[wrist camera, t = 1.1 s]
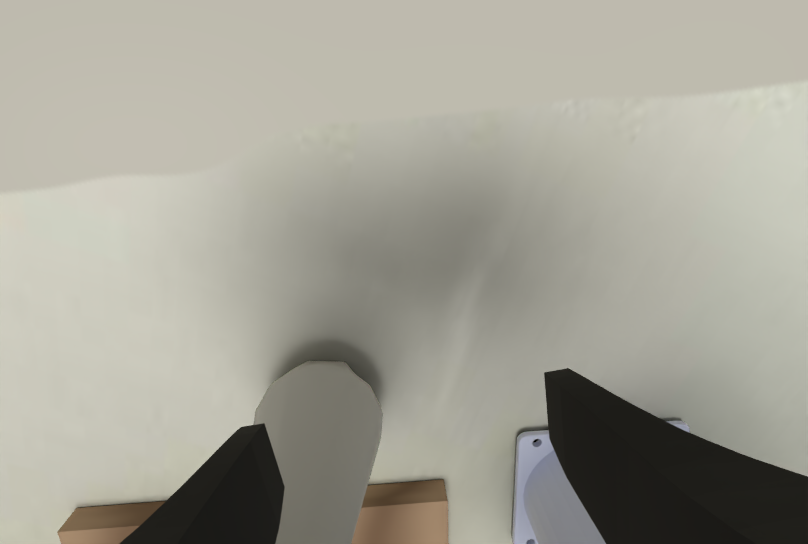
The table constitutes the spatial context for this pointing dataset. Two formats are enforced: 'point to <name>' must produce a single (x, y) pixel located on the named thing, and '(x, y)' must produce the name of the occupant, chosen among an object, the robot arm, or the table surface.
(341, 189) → the table surface
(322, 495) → the salt shaker
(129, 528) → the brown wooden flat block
